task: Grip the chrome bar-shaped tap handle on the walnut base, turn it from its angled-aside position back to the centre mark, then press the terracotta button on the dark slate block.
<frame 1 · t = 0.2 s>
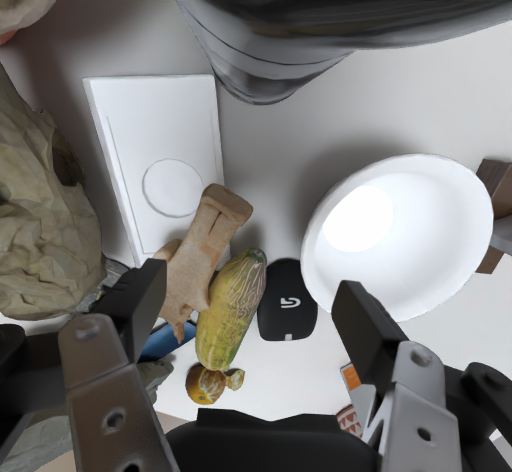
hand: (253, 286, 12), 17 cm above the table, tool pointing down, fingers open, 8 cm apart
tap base: (476, 215, 29), on the table
bowl: (354, 217, 29), on the table
vegetable: (209, 356, 35), point 2 cm above the table, touching figurine
light switch: (151, 74, 21), point 1 cm above the table, touching figurine
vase: (367, 421, 45), on the table
figurine: (233, 199, 20), point 8 cm above the table, touching light switch, vegetable
rock: (73, 419, 32), point 6 cm above the table, touching wooden handled tool, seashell
fruit: (219, 371, 39), on the table
cosmetic box: (360, 365, 39), on the table
sculpture: (112, 299, 32), on the table, touching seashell, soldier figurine
wooden handled tool: (108, 355, 34), point 1 cm above the table, touching rock
computer mouse: (284, 297, 33), on the table
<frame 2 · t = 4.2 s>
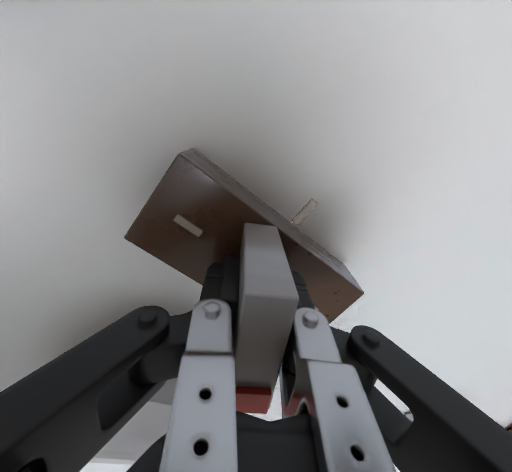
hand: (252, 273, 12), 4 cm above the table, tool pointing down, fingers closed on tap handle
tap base: (251, 242, 16), on the table
bowl: (165, 382, 21), on the table
tap handle: (255, 305, 10), point 6 cm above the table, hinge at -60.0°, touching gripper
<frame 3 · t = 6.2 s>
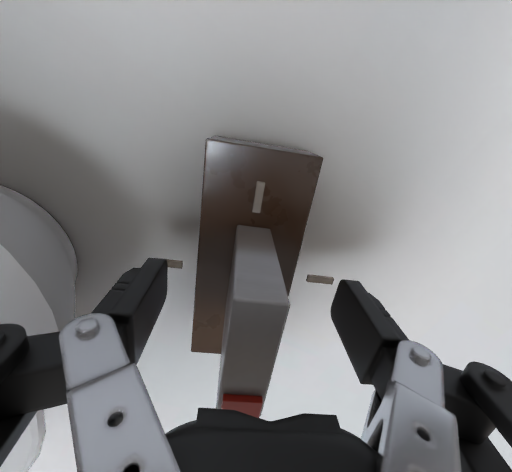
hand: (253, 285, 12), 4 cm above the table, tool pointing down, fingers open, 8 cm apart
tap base: (245, 245, 16), on the table
bowl: (1, 251, 15), on the table, touching gripper
tap handle: (247, 309, 10), point 6 cm above the table, hinge at -0.3°
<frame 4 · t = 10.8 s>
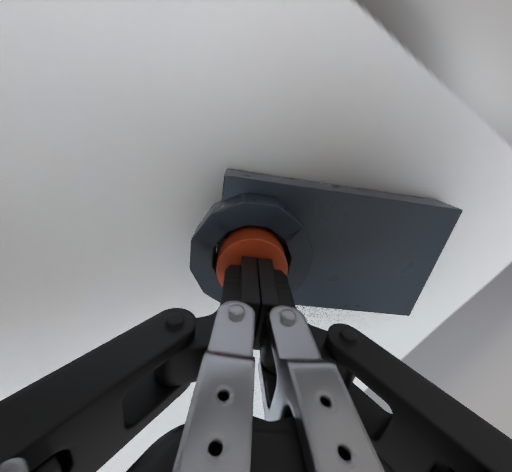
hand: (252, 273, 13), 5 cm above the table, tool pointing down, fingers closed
button block: (320, 241, 18), on the table
button: (251, 262, 13), point 4 cm above the table, slide at -0.3 cm, touching gripper
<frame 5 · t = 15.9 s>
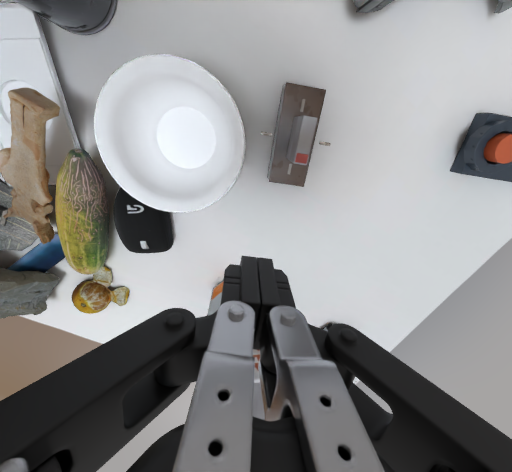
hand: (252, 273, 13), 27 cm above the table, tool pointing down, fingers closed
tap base: (291, 137, 35), on the table
bowl: (188, 138, 35), on the table
vegetable: (87, 268, 40), point 2 cm above the table, touching figurine
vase: (253, 344, 51), on the table
figurine: (35, 96, 25), point 8 cm above the table, touching light switch, vegetable
fruit: (107, 288, 44), on the table
button block: (504, 151, 37), on the table
cosmetic box: (231, 285, 45), on the table
button: (503, 148, 33), point 4 cm above the table, slide at 0.1 cm
wooden handled tool: (0, 266, 40), point 1 cm above the table, touching rock
toy gun: (467, 38, 29), point 3 cm above the table
computer mouse: (147, 215, 39), on the table
tap handle: (300, 140, 30), point 6 cm above the table, hinge at -0.3°
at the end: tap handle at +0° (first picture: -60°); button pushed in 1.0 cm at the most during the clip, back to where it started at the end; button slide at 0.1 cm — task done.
